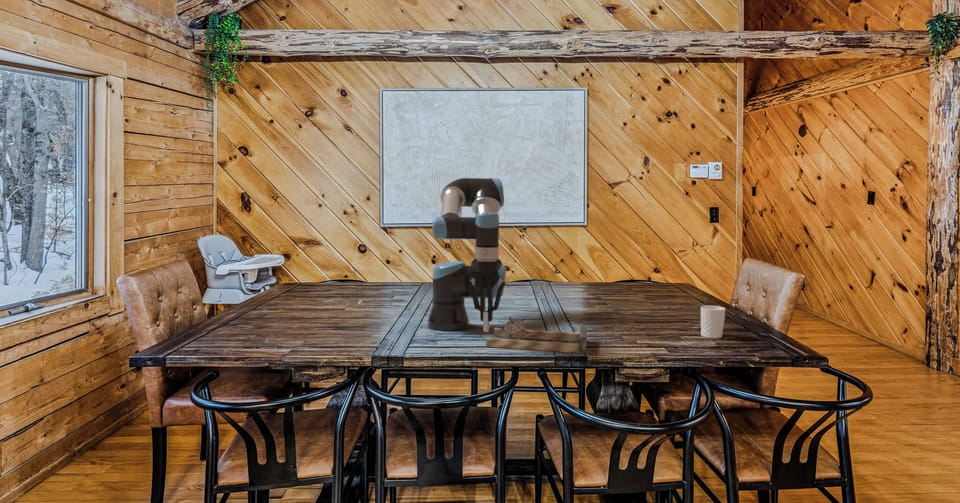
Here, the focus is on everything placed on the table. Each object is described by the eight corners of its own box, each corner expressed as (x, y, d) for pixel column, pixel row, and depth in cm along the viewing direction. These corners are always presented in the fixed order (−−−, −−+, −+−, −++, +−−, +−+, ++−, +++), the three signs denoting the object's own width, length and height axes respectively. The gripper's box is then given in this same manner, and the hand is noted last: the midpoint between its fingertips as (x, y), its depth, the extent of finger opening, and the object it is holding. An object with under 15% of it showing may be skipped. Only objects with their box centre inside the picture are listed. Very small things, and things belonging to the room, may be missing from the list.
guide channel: (486, 346, 178) (486, 331, 177) (495, 334, 192) (495, 320, 192) (585, 353, 171) (585, 337, 171) (586, 340, 186) (587, 326, 185)
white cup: (722, 334, 196) (724, 306, 195) (724, 339, 189) (726, 310, 188) (698, 332, 199) (700, 304, 198) (699, 337, 192) (701, 309, 190)
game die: (519, 352, 185) (538, 328, 184) (510, 349, 177) (530, 324, 177) (500, 335, 189) (518, 312, 189) (491, 332, 181) (510, 307, 181)
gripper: (464, 260, 180) (464, 332, 183) (504, 261, 177) (503, 334, 180) (470, 257, 188) (469, 326, 190) (508, 259, 185) (507, 329, 187)
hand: (486, 330), depth 185 cm, fingers closed
